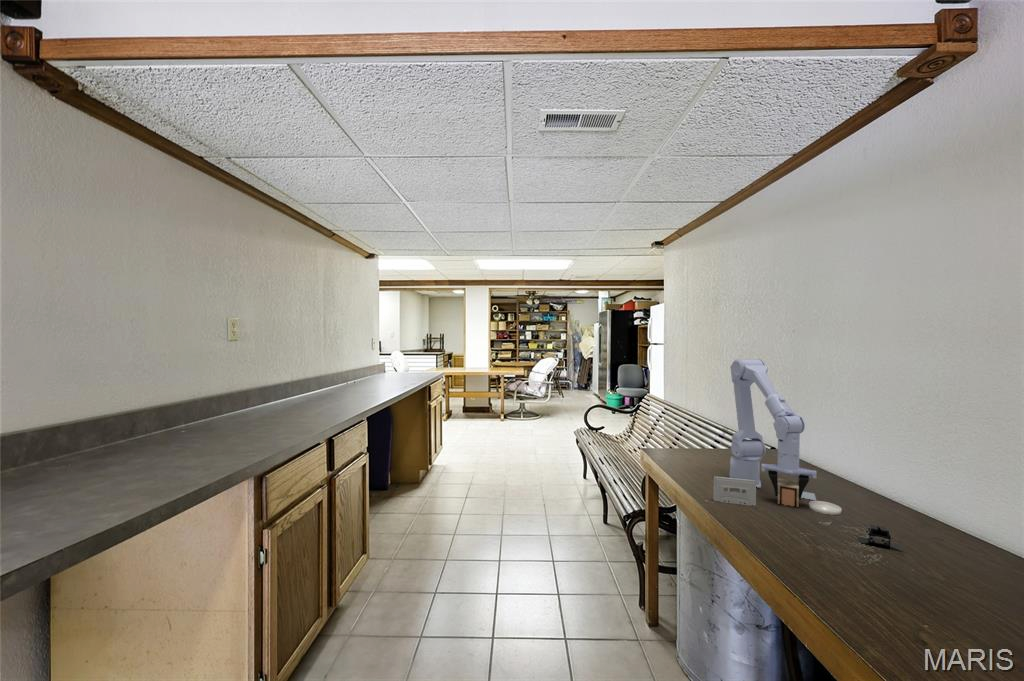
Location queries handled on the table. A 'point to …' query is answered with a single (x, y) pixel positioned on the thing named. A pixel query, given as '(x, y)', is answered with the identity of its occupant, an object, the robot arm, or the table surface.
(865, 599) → the table surface
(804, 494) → the pad
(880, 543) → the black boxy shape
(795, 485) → the beige open box
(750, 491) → the cassette
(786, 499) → the block
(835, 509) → the dish
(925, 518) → the table surface
